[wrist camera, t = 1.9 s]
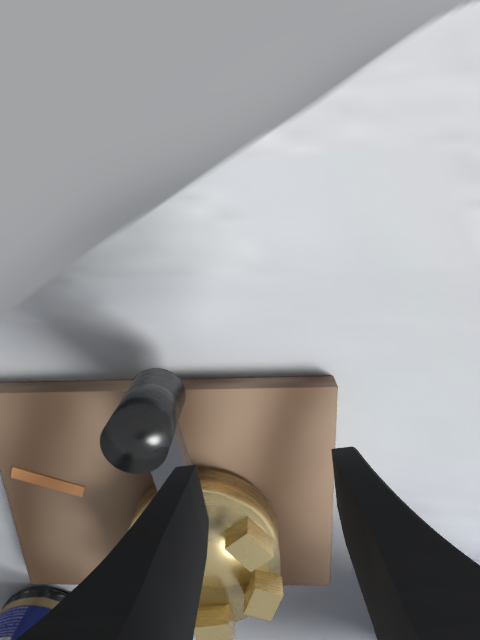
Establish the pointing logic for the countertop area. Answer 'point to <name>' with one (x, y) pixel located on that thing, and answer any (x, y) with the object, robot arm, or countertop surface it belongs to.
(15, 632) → the pill bottle
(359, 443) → the countertop surface
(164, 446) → the gold and black piece
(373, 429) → the countertop surface
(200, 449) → the wooden board
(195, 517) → the robot arm
